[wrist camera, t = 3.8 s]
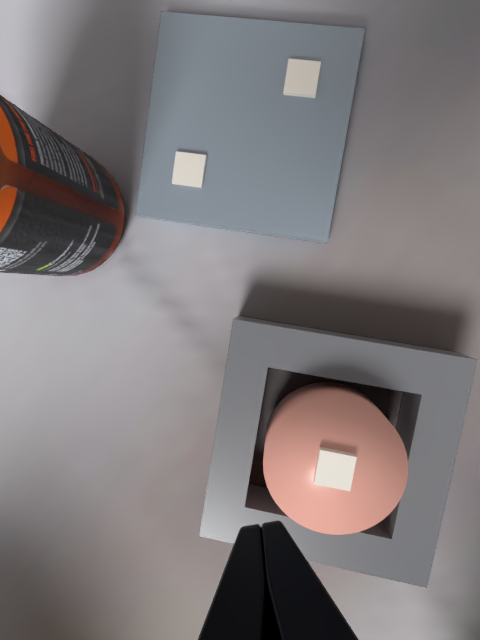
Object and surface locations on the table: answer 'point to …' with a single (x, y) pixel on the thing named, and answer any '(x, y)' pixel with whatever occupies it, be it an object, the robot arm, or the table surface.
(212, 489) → the button housing
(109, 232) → the supplement bottle
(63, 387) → the table surface
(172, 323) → the table surface
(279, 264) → the table surface
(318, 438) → the one-pip button
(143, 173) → the two-pip tile
